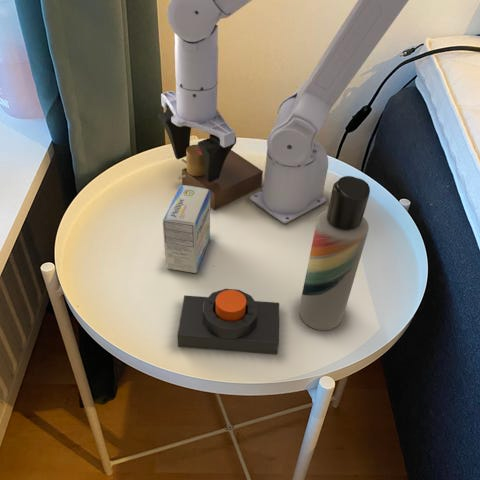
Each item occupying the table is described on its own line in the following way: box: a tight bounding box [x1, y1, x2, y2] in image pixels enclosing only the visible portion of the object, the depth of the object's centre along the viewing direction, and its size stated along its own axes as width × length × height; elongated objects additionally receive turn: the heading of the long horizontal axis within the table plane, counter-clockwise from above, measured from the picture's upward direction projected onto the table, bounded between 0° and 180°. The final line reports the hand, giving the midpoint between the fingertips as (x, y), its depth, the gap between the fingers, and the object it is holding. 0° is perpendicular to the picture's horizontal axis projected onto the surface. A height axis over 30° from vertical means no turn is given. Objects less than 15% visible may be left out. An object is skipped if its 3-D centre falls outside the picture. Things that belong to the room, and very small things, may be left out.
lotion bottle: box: [298, 175, 371, 331], centre depth 63 cm, size 6×6×20 cm
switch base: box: [176, 288, 280, 355], centre depth 67 cm, size 12×7×4 cm, turn 87°
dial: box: [185, 144, 205, 176], centre depth 84 cm, size 3×3×4 cm
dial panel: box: [177, 149, 264, 211], centre depth 87 cm, size 12×10×3 cm
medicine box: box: [162, 184, 211, 274], centre depth 74 cm, size 8×4×9 cm, turn 168°
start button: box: [215, 290, 246, 322], centre depth 65 cm, size 4×4×2 cm
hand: (197, 167), depth 85 cm, fingers open, 7 cm apart
